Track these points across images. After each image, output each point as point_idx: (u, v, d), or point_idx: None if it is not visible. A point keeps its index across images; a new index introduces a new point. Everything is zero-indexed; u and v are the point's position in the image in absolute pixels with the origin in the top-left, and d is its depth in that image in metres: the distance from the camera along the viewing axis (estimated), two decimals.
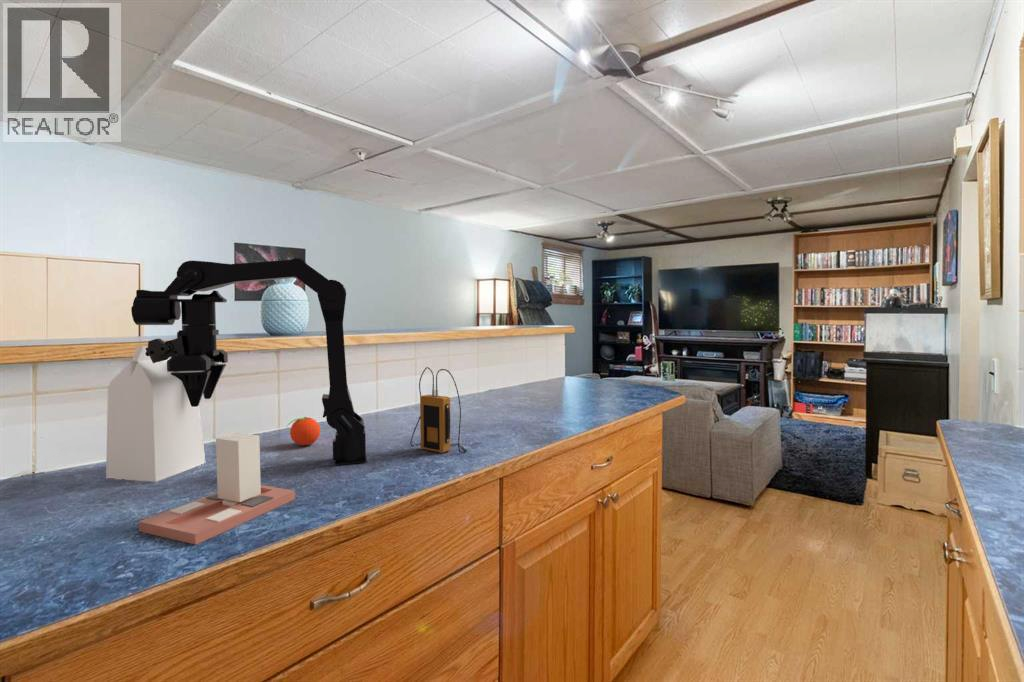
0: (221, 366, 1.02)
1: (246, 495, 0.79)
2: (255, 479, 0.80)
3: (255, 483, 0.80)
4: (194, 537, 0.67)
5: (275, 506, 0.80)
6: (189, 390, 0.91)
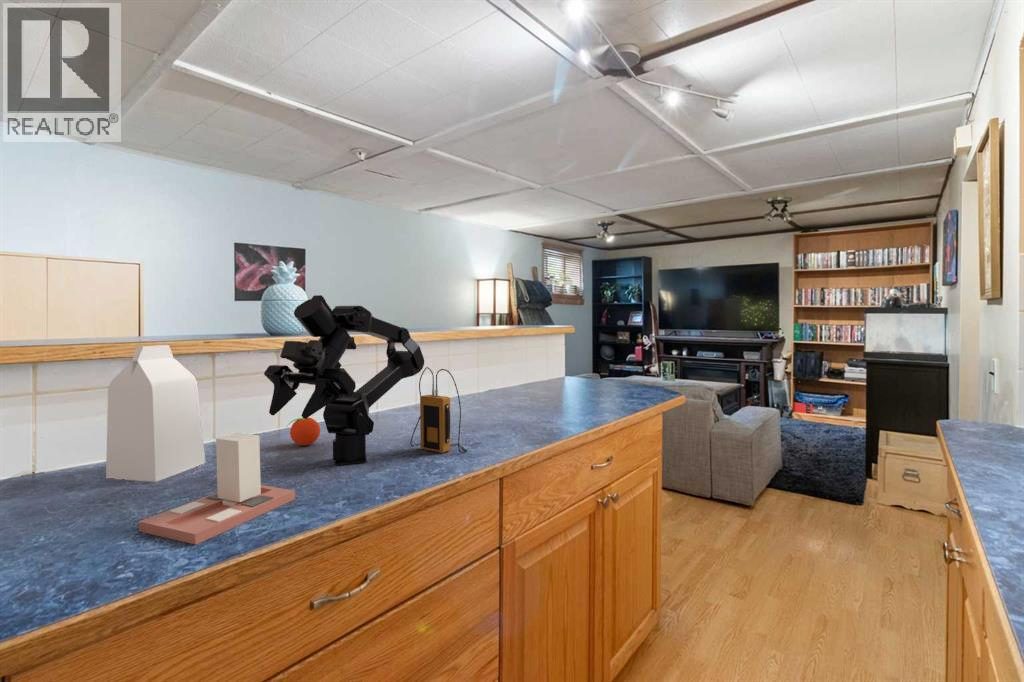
0: (295, 393, 0.97)
1: (246, 495, 0.79)
2: (255, 479, 0.80)
3: (255, 483, 0.80)
4: (194, 537, 0.67)
5: (275, 506, 0.80)
6: (315, 401, 0.90)
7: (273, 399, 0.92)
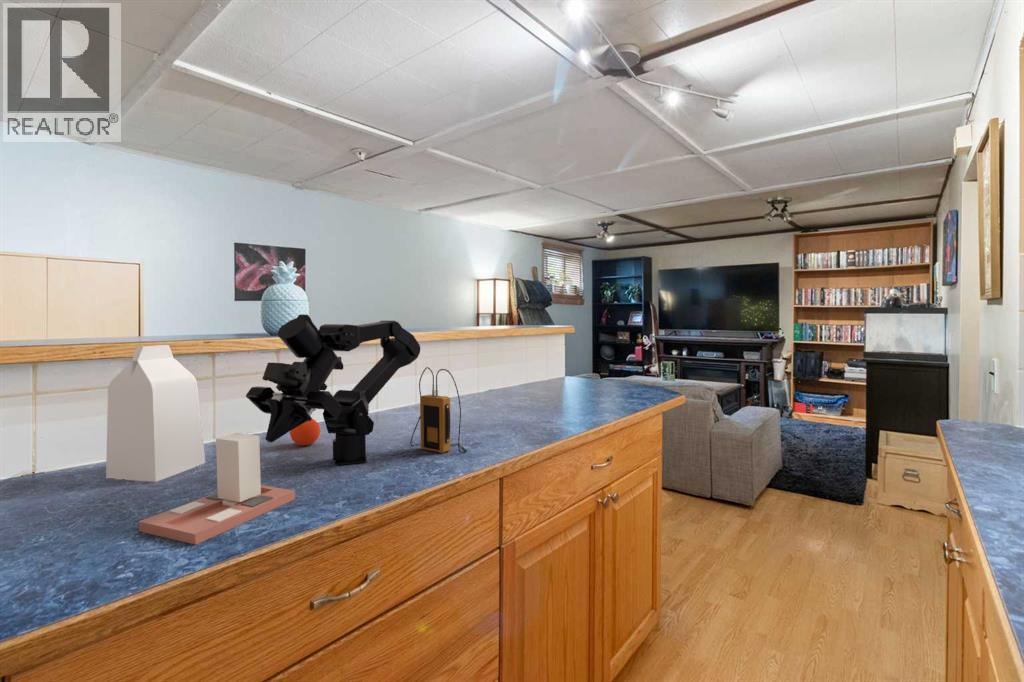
0: None
1: (246, 495, 0.79)
2: (255, 479, 0.80)
3: (255, 483, 0.80)
4: (194, 537, 0.67)
5: (275, 506, 0.80)
6: (282, 424, 0.87)
7: (270, 425, 0.87)
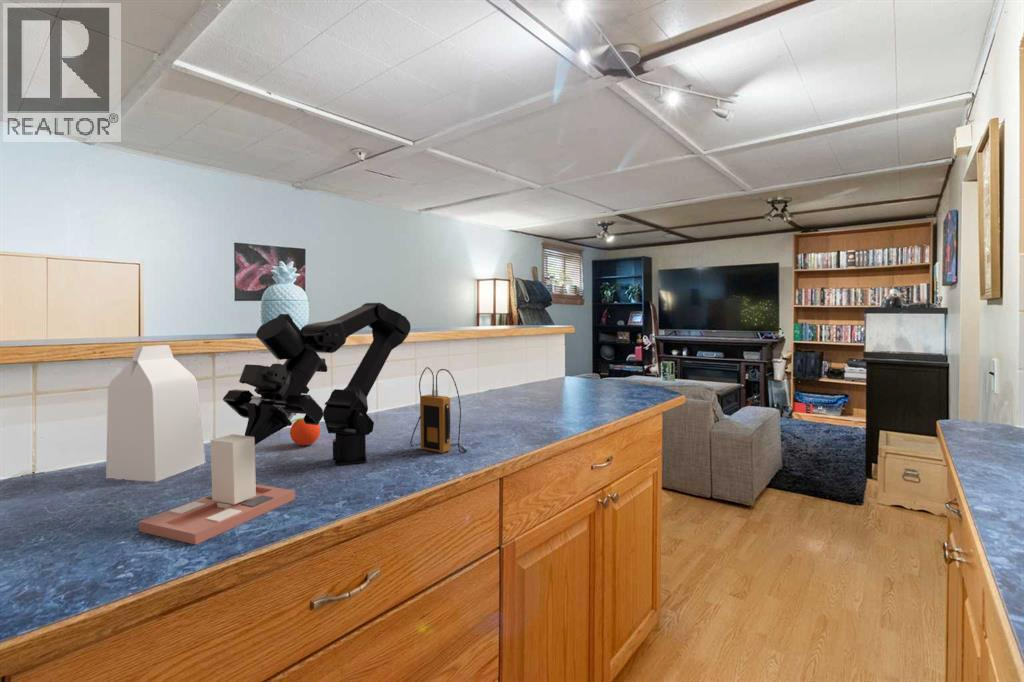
0: None
1: (241, 497, 0.78)
2: (250, 481, 0.79)
3: (250, 485, 0.79)
4: (194, 537, 0.67)
5: (275, 506, 0.80)
6: (260, 430, 0.82)
7: (247, 430, 0.82)
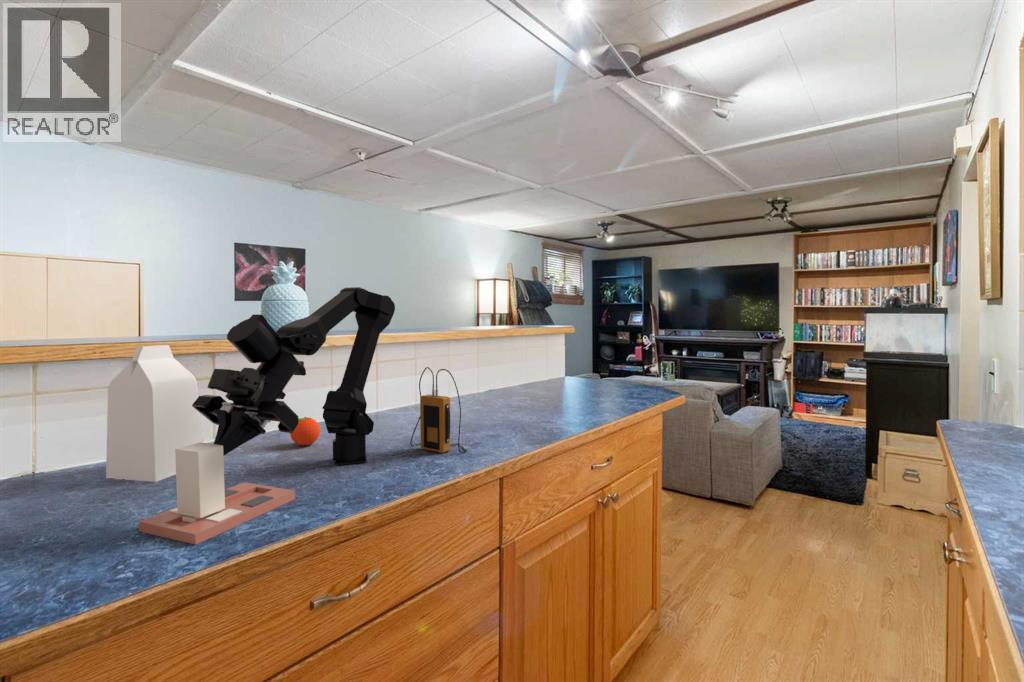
0: None
1: (208, 510, 0.72)
2: (218, 493, 0.74)
3: (218, 497, 0.74)
4: (194, 537, 0.67)
5: (275, 506, 0.80)
6: (230, 439, 0.77)
7: (216, 439, 0.77)
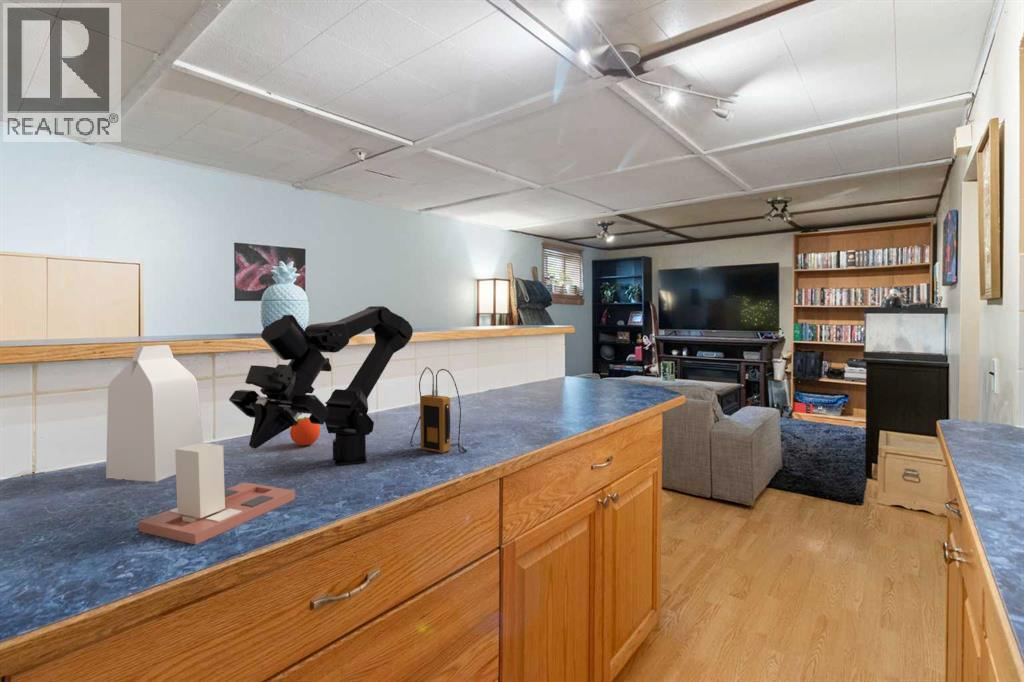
0: None
1: (208, 510, 0.72)
2: (218, 493, 0.74)
3: (218, 497, 0.74)
4: (194, 537, 0.67)
5: (275, 506, 0.80)
6: (266, 430, 0.84)
7: (254, 430, 0.84)
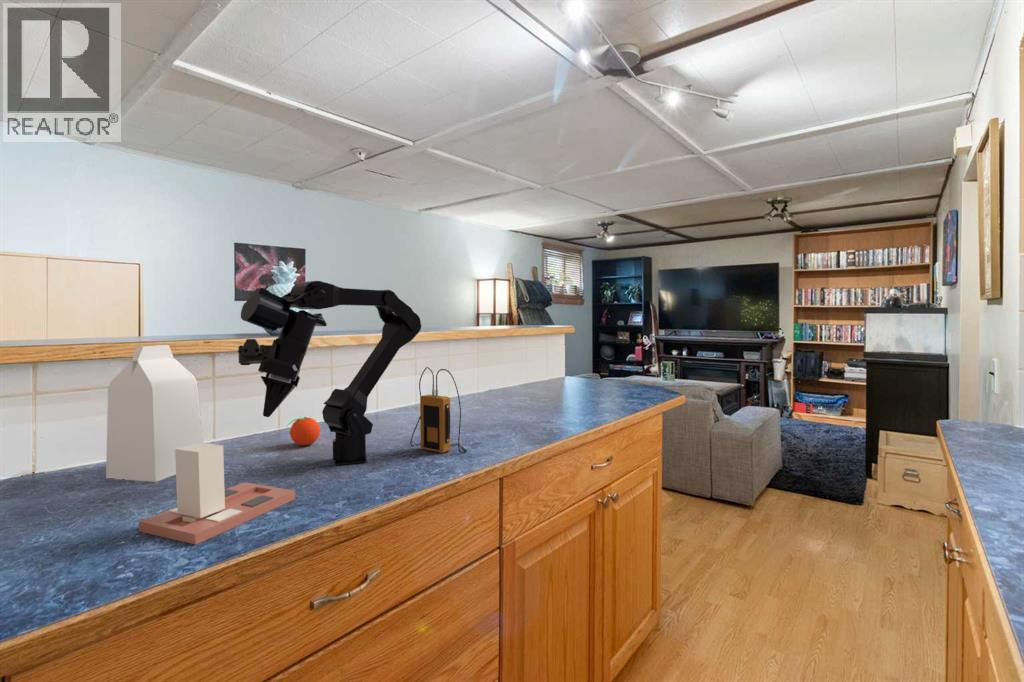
0: None
1: (208, 510, 0.72)
2: (218, 493, 0.74)
3: (218, 497, 0.74)
4: (194, 537, 0.67)
5: (275, 506, 0.80)
6: (268, 399, 0.91)
7: None
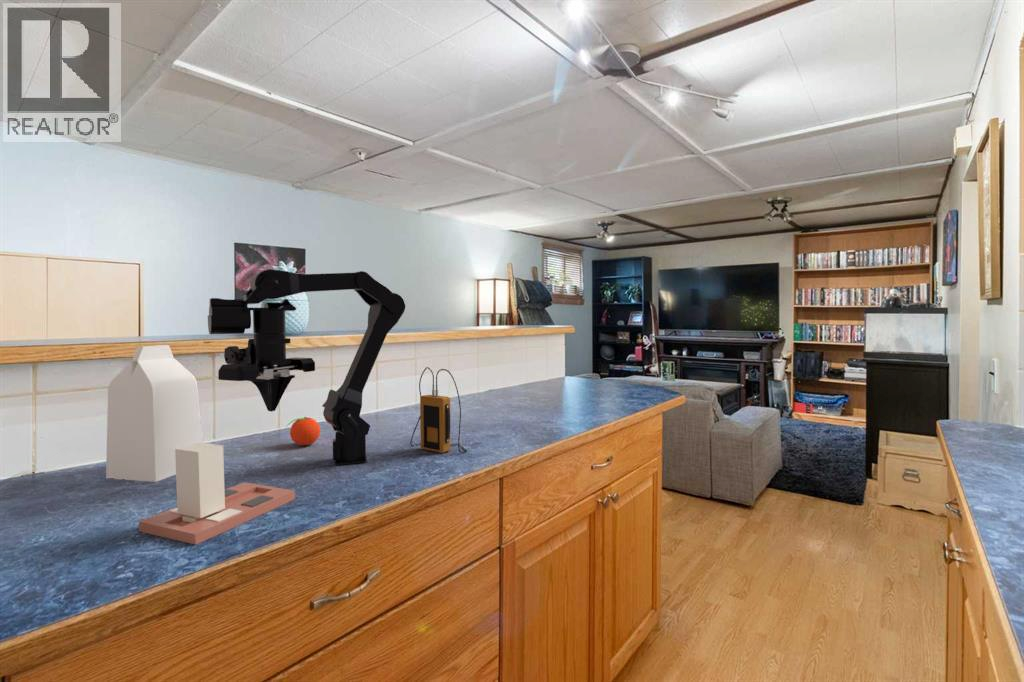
0: (283, 378, 0.96)
1: (208, 510, 0.72)
2: (218, 493, 0.74)
3: (218, 497, 0.74)
4: (194, 537, 0.67)
5: (275, 506, 0.80)
6: (264, 395, 0.95)
7: None
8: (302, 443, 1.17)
